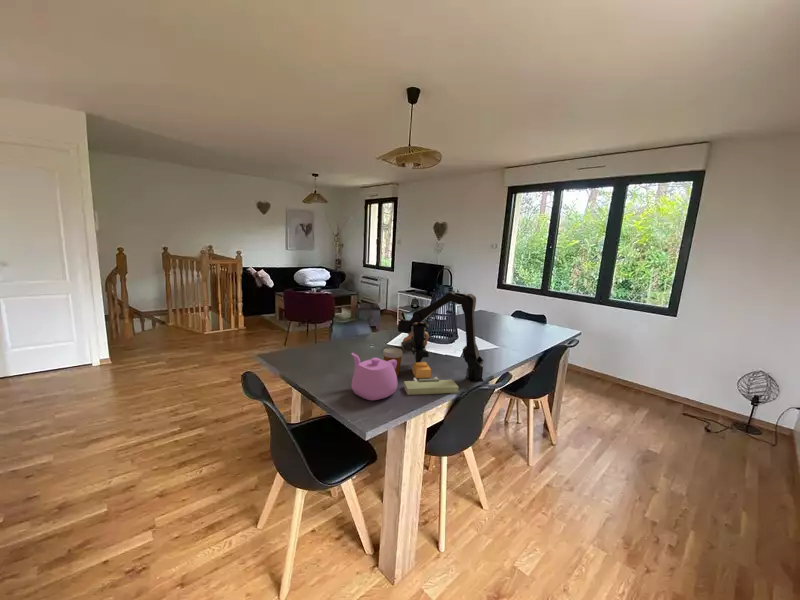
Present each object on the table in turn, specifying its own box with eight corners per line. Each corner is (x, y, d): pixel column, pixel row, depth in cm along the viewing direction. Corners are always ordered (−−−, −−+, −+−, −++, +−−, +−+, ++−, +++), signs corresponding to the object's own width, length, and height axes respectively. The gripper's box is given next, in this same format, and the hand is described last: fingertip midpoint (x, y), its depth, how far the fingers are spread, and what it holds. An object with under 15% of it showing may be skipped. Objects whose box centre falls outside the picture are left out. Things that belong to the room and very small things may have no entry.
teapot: (409, 391, 152) (410, 357, 150) (372, 407, 137) (374, 369, 134) (372, 375, 167) (373, 344, 165) (335, 388, 152) (336, 354, 149)
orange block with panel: (426, 371, 176) (426, 361, 175) (430, 377, 168) (431, 367, 167) (412, 371, 174) (412, 362, 174) (416, 378, 167) (416, 367, 166)
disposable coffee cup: (384, 379, 164) (385, 354, 162) (379, 371, 173) (380, 347, 171) (404, 378, 166) (405, 353, 164) (398, 370, 175) (399, 346, 173)
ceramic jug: (396, 345, 216) (397, 322, 213) (412, 341, 226) (413, 319, 223) (418, 353, 203) (419, 329, 200) (434, 348, 213) (436, 325, 210)
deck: (447, 379, 167) (448, 373, 166) (458, 392, 153) (458, 385, 152) (401, 381, 162) (401, 374, 162) (407, 394, 149) (407, 387, 148)
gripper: (399, 330, 184) (398, 359, 187) (406, 340, 166) (405, 372, 169) (420, 330, 186) (419, 358, 189) (429, 340, 168) (428, 372, 171)
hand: (417, 365), depth 179 cm, fingers closed
